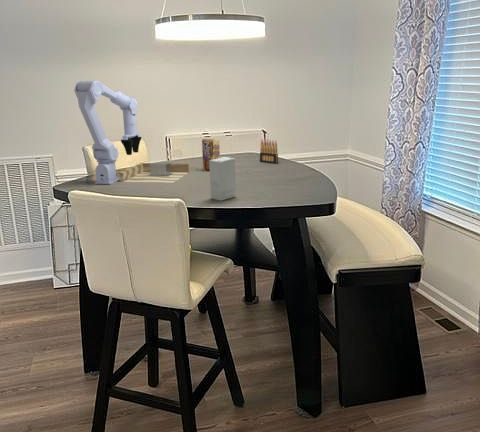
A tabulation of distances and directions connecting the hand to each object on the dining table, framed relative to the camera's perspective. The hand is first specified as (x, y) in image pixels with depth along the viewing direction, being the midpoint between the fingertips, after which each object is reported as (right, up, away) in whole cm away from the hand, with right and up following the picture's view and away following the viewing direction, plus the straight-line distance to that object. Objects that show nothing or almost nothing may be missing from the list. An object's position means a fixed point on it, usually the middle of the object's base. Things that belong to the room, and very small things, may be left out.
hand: (132, 153), depth 238 cm
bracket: (+14, -10, -4) cm, 17 cm away
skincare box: (+44, -23, -46) cm, 68 cm away
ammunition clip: (+65, -2, +25) cm, 70 cm away
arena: (+12, -12, -8) cm, 19 cm away
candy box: (+37, -8, +6) cm, 38 cm away
